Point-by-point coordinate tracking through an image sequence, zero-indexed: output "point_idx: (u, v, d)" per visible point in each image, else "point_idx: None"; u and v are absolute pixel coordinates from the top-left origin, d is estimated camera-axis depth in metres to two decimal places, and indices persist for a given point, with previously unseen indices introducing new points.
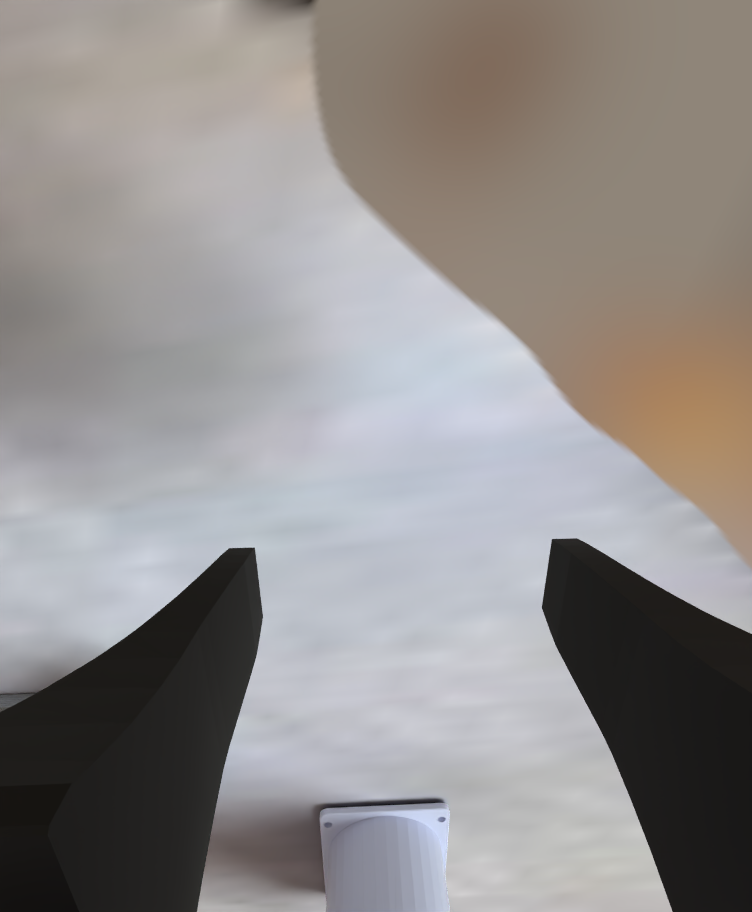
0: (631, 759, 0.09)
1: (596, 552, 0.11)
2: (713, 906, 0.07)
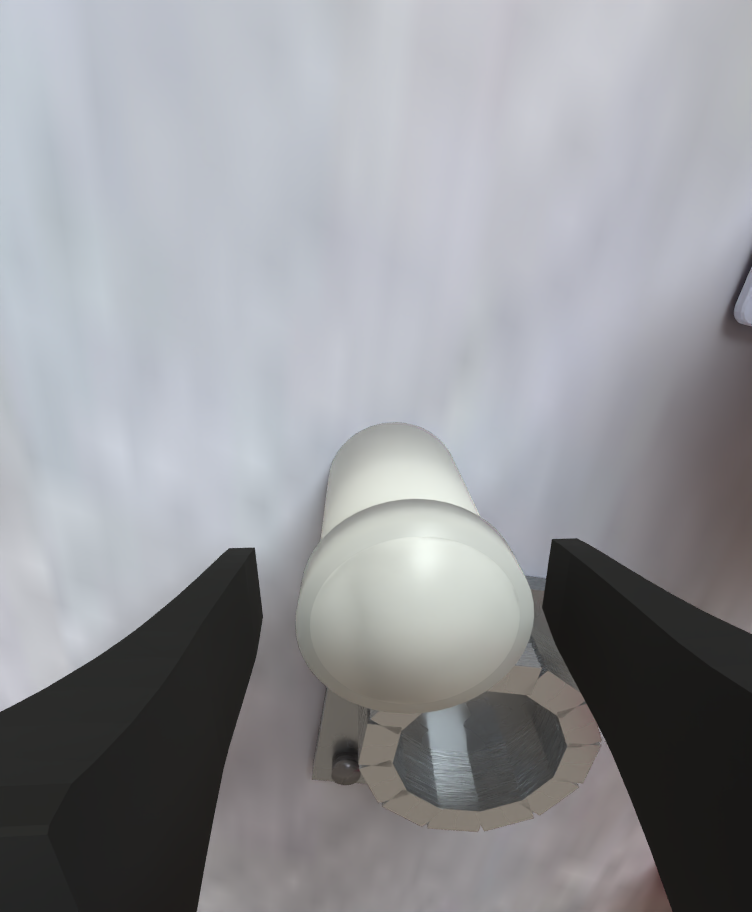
0: (631, 759, 0.09)
1: (596, 552, 0.11)
2: (713, 906, 0.07)
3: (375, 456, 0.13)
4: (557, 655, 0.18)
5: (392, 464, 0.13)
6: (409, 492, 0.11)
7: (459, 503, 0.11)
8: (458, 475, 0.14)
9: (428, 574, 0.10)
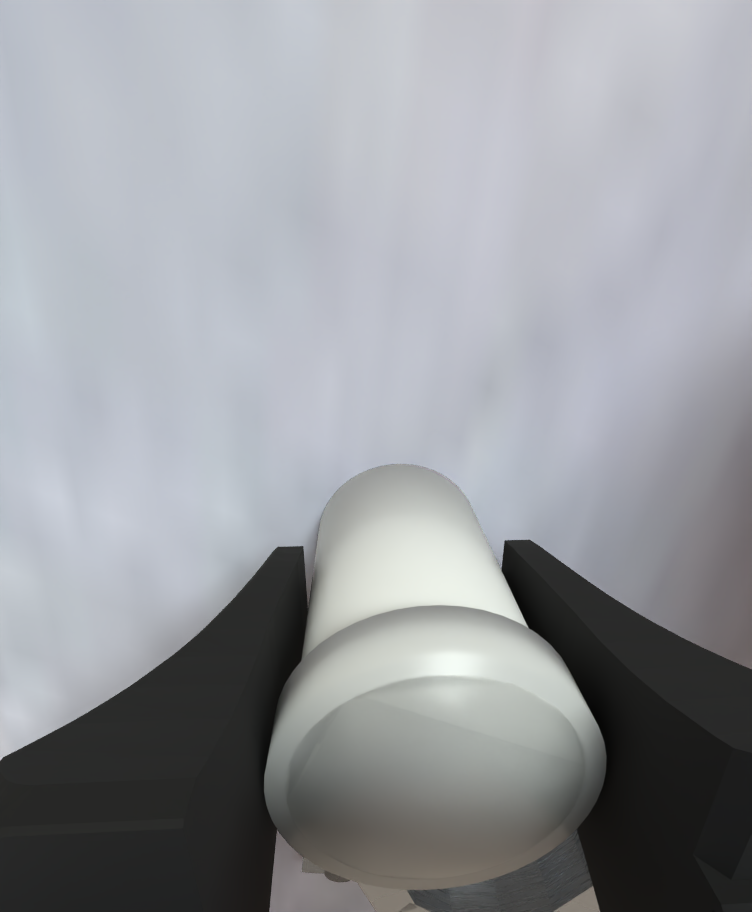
0: None
1: (544, 553, 0.10)
2: (632, 910, 0.07)
3: (376, 516, 0.10)
4: None
5: (399, 533, 0.10)
6: (424, 582, 0.08)
7: (493, 597, 0.08)
8: (483, 539, 0.11)
9: (457, 723, 0.07)
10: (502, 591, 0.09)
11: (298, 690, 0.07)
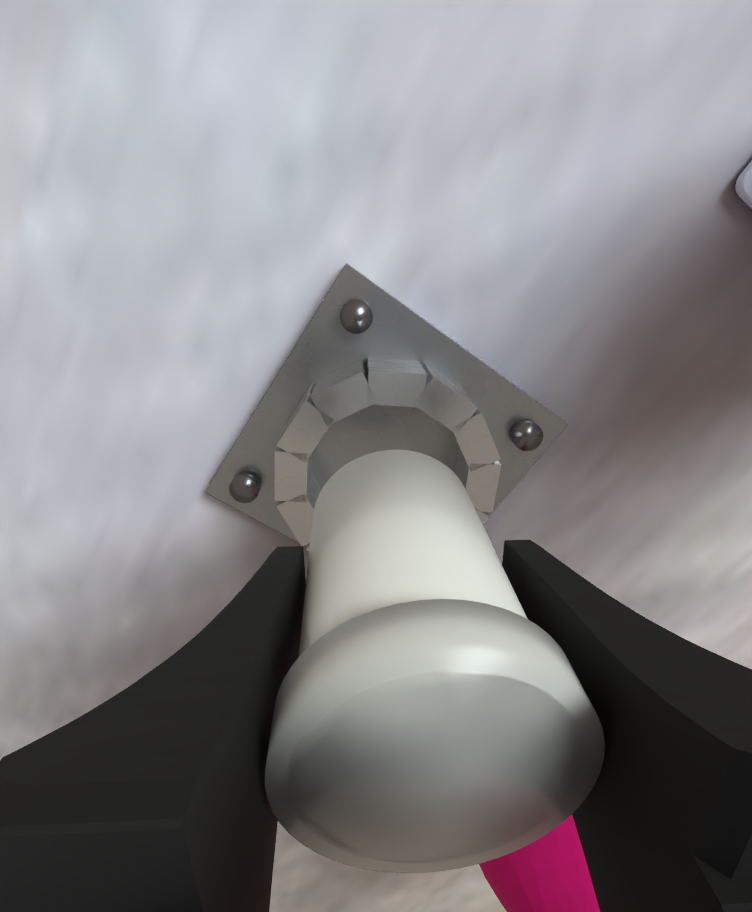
0: None
1: (544, 554, 0.10)
2: (632, 911, 0.07)
3: (373, 505, 0.10)
4: None
5: (397, 522, 0.09)
6: (424, 574, 0.08)
7: (492, 587, 0.08)
8: (480, 526, 0.11)
9: (458, 716, 0.07)
10: (501, 581, 0.09)
11: (298, 686, 0.07)
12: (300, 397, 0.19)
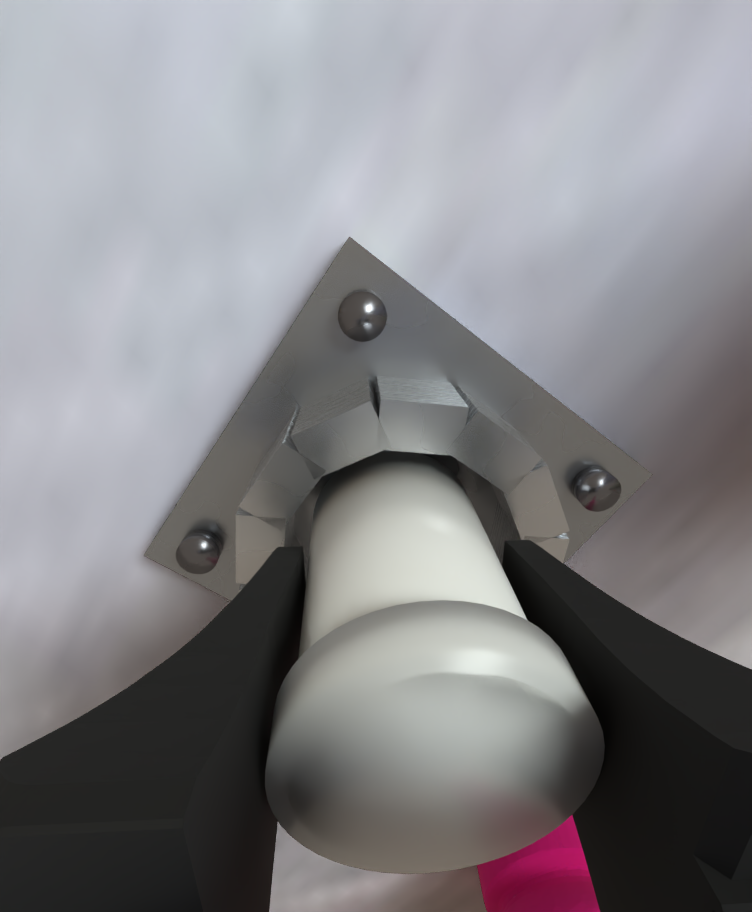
0: None
1: (544, 553, 0.10)
2: (632, 910, 0.07)
3: (373, 506, 0.10)
4: None
5: (397, 523, 0.09)
6: (423, 575, 0.08)
7: (492, 588, 0.08)
8: (480, 527, 0.11)
9: (458, 717, 0.07)
10: (500, 581, 0.09)
11: (298, 687, 0.07)
12: (278, 430, 0.14)
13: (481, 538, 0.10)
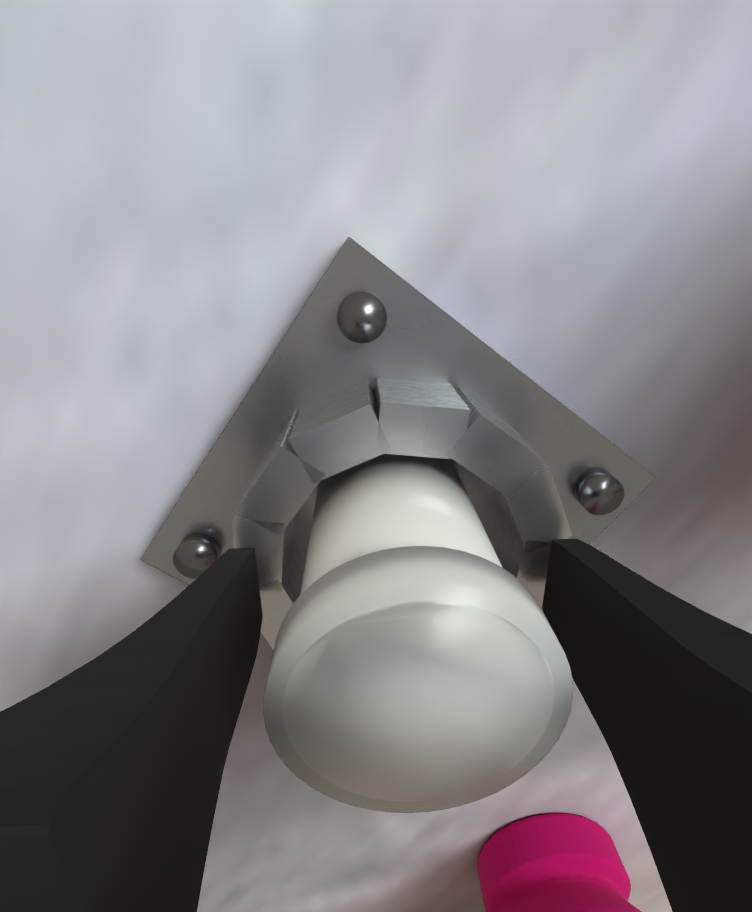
0: (631, 759, 0.09)
1: (596, 552, 0.11)
2: (713, 906, 0.07)
3: (369, 480, 0.11)
4: None
5: (390, 493, 0.10)
6: (410, 531, 0.09)
7: (473, 545, 0.09)
8: (469, 503, 0.12)
9: (437, 648, 0.07)
10: (483, 543, 0.10)
11: (294, 620, 0.08)
12: (277, 432, 0.13)
13: (468, 510, 0.11)
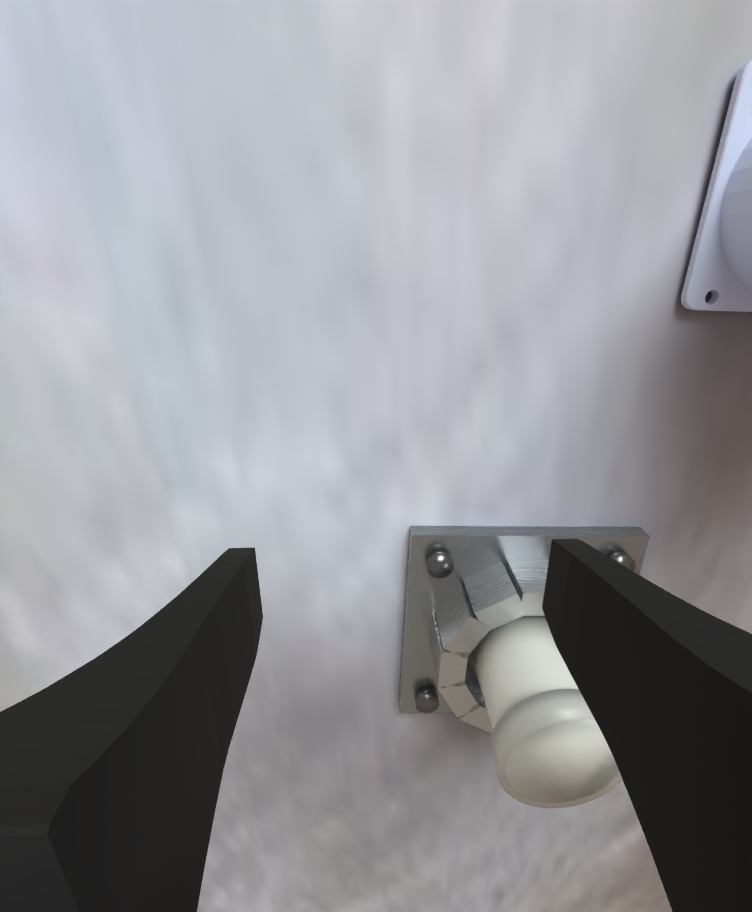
0: (631, 759, 0.09)
1: (596, 552, 0.11)
2: (713, 906, 0.07)
3: (490, 646, 0.21)
4: None
5: (503, 655, 0.20)
6: (521, 682, 0.19)
7: (552, 673, 0.19)
8: (545, 628, 0.21)
9: (555, 739, 0.17)
10: (558, 665, 0.19)
11: (495, 750, 0.18)
12: (430, 626, 0.24)
13: (545, 639, 0.20)
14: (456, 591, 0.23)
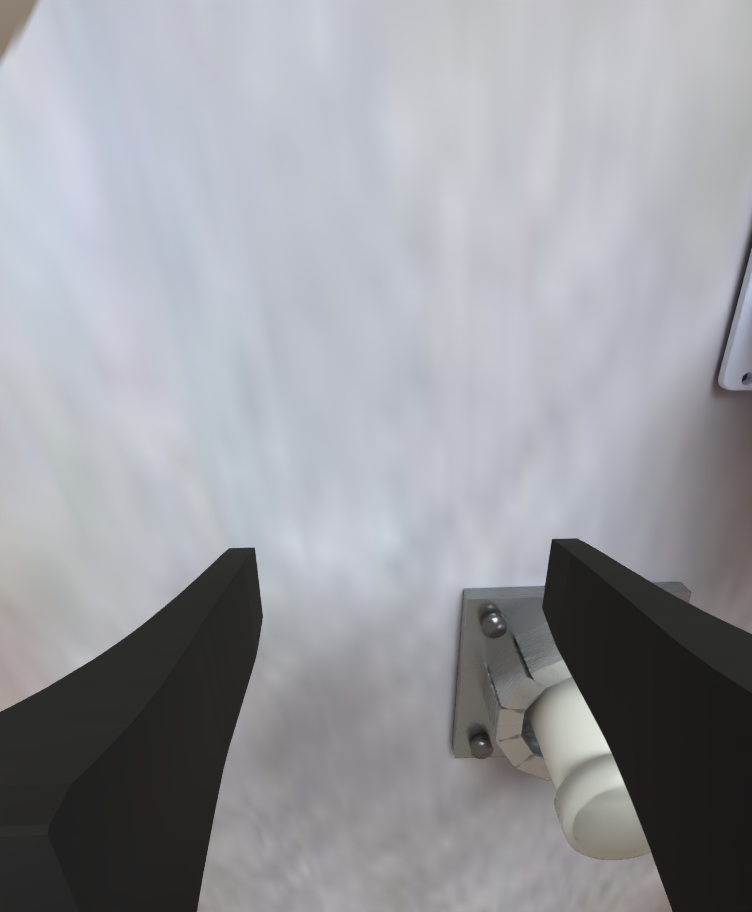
0: (631, 759, 0.09)
1: (596, 552, 0.11)
2: (713, 906, 0.07)
3: (546, 703, 0.23)
4: None
5: (560, 713, 0.22)
6: (581, 744, 0.20)
7: None
8: None
9: (618, 800, 0.19)
10: None
11: (561, 810, 0.19)
12: (484, 680, 0.25)
13: None
14: (509, 648, 0.24)
